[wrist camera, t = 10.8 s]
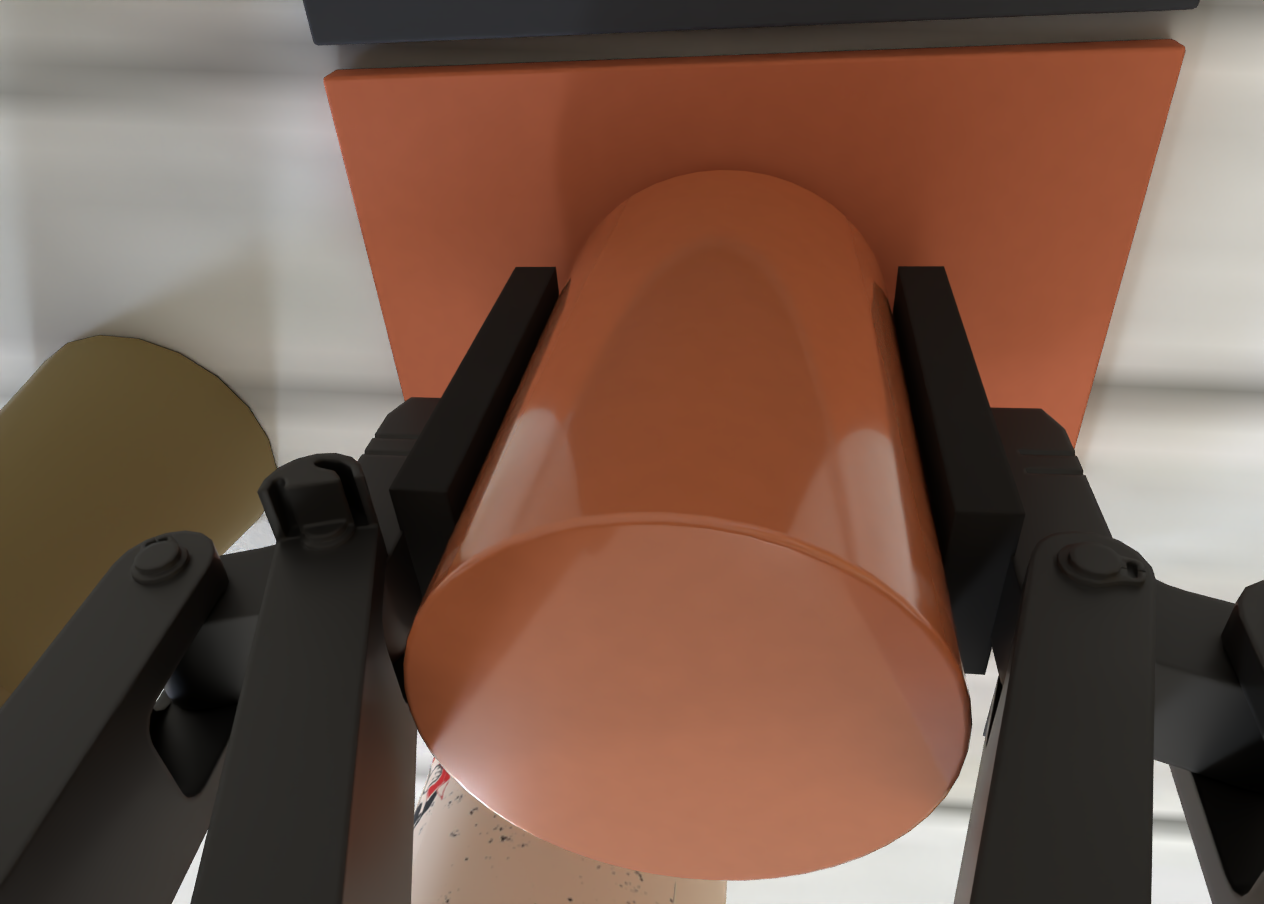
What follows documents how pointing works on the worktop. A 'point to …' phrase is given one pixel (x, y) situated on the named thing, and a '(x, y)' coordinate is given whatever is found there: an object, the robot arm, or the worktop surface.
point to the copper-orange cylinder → (702, 557)
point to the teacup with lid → (520, 861)
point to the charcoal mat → (653, 15)
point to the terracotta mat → (786, 149)
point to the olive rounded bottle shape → (112, 477)
